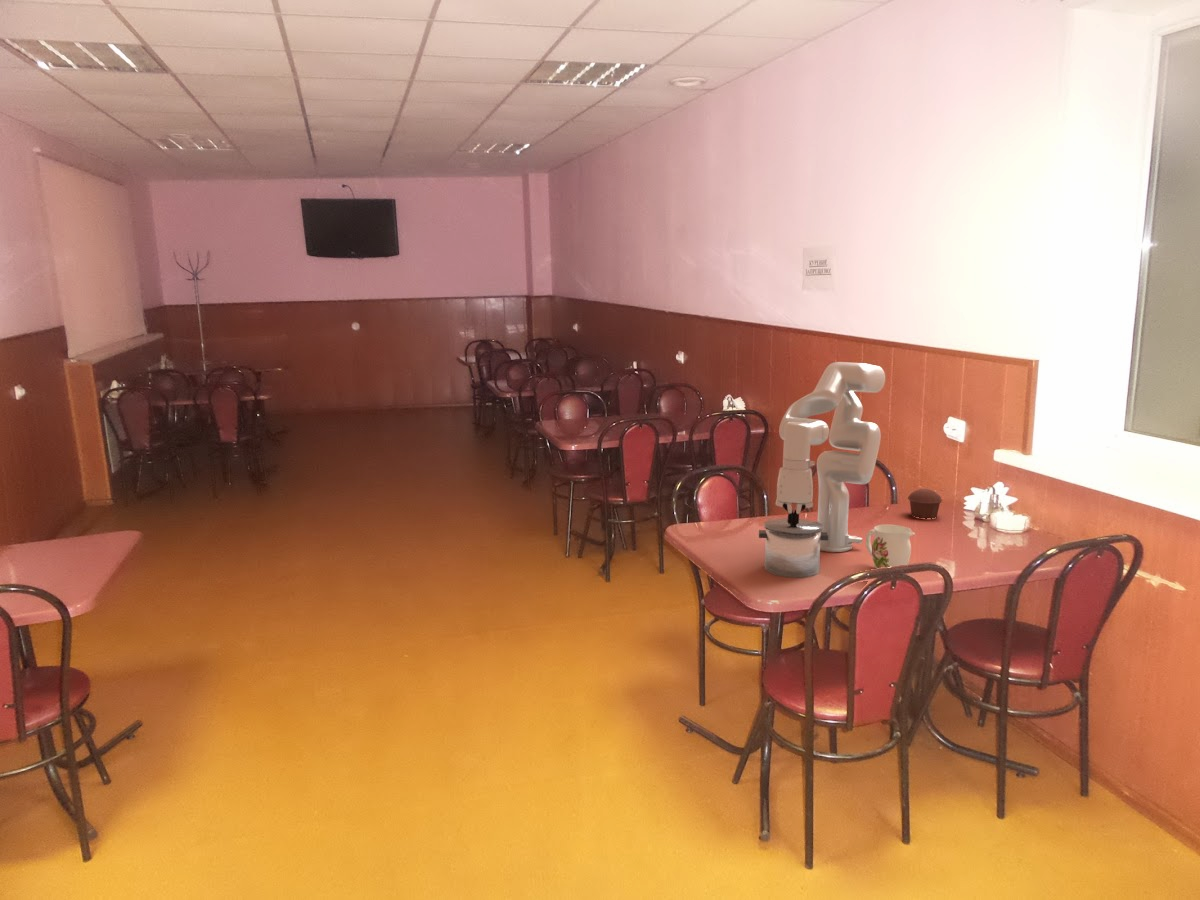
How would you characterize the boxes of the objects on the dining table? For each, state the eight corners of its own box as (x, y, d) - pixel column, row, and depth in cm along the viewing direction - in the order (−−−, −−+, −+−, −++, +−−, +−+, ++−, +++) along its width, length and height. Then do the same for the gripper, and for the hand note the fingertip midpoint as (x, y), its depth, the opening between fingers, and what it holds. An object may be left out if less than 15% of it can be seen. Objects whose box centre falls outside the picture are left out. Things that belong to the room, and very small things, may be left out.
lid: (763, 521, 266) (763, 512, 266) (819, 523, 264) (820, 514, 263) (765, 532, 249) (765, 523, 249) (825, 535, 246) (825, 525, 246)
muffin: (941, 514, 318) (942, 487, 316) (941, 522, 308) (943, 494, 306) (907, 511, 322) (908, 485, 320) (906, 519, 312) (907, 492, 310)
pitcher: (878, 559, 267) (881, 516, 264) (924, 576, 251) (927, 531, 248) (851, 565, 262) (854, 521, 259) (896, 583, 246) (899, 536, 243)
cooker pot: (823, 560, 266) (824, 523, 264) (828, 579, 250) (830, 539, 247) (757, 557, 269) (758, 520, 267) (758, 576, 253) (759, 536, 250)
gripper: (821, 463, 252) (818, 523, 255) (769, 461, 254) (766, 521, 257) (823, 468, 245) (820, 530, 248) (770, 466, 247) (767, 528, 250)
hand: (793, 525), depth 253 cm, fingers closed
